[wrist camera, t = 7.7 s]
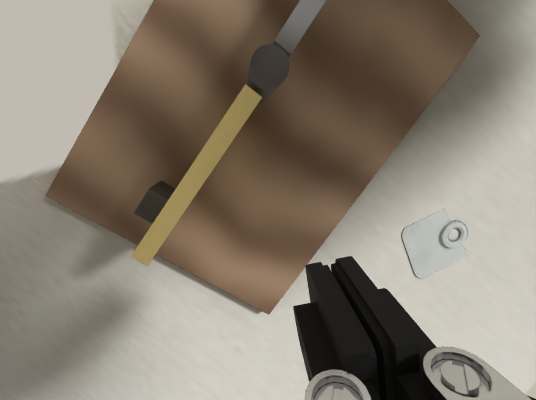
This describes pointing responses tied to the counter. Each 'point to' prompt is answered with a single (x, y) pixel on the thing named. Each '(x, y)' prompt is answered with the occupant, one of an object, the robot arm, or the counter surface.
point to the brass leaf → (197, 174)
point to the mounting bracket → (434, 243)
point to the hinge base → (258, 126)
